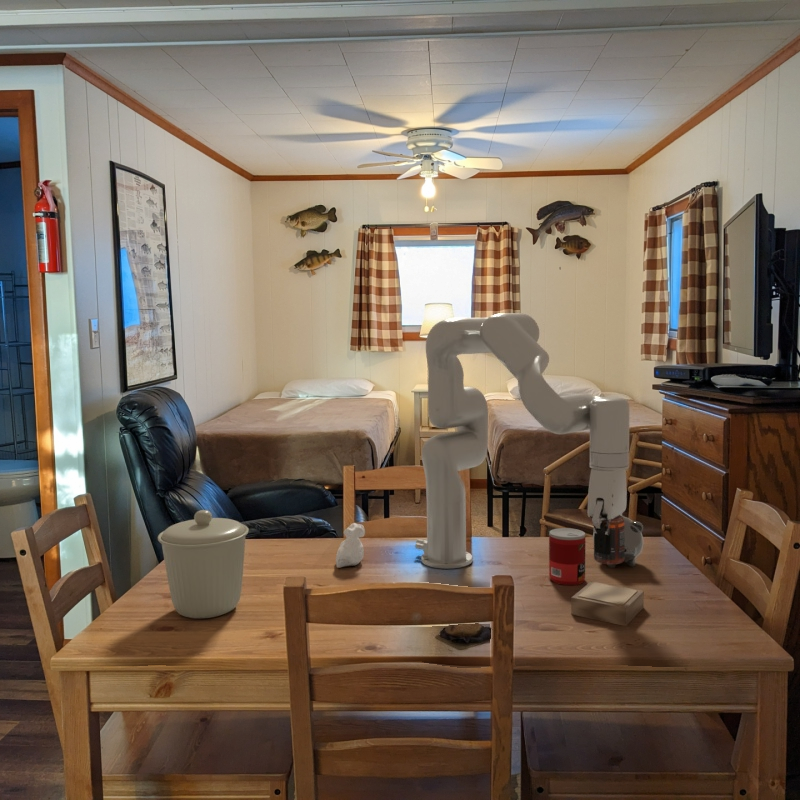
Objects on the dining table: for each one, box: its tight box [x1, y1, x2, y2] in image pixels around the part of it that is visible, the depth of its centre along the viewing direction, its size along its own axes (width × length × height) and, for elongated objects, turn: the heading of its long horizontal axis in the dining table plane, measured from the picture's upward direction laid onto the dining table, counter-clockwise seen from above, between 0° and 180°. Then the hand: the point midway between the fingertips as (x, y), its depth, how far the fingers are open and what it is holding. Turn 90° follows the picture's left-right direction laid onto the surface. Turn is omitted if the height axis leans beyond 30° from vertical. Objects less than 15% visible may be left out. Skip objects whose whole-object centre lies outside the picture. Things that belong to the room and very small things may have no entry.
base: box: [570, 580, 645, 627], centre depth 150 cm, size 11×11×4 cm
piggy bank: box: [592, 515, 644, 568], centre depth 179 cm, size 11×15×12 cm
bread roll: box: [434, 622, 492, 651], centre depth 139 cm, size 11×8×4 cm
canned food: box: [548, 527, 586, 586], centre depth 168 cm, size 8×8×11 cm
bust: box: [335, 522, 366, 569], centre depth 182 cm, size 12×8×11 cm
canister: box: [157, 509, 250, 619], centre depth 154 cm, size 18×18×21 cm
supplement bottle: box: [593, 515, 625, 565], centre depth 148 cm, size 6×6×11 cm
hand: (608, 548), depth 149 cm, fingers closed on supplement bottle, 6 cm apart
